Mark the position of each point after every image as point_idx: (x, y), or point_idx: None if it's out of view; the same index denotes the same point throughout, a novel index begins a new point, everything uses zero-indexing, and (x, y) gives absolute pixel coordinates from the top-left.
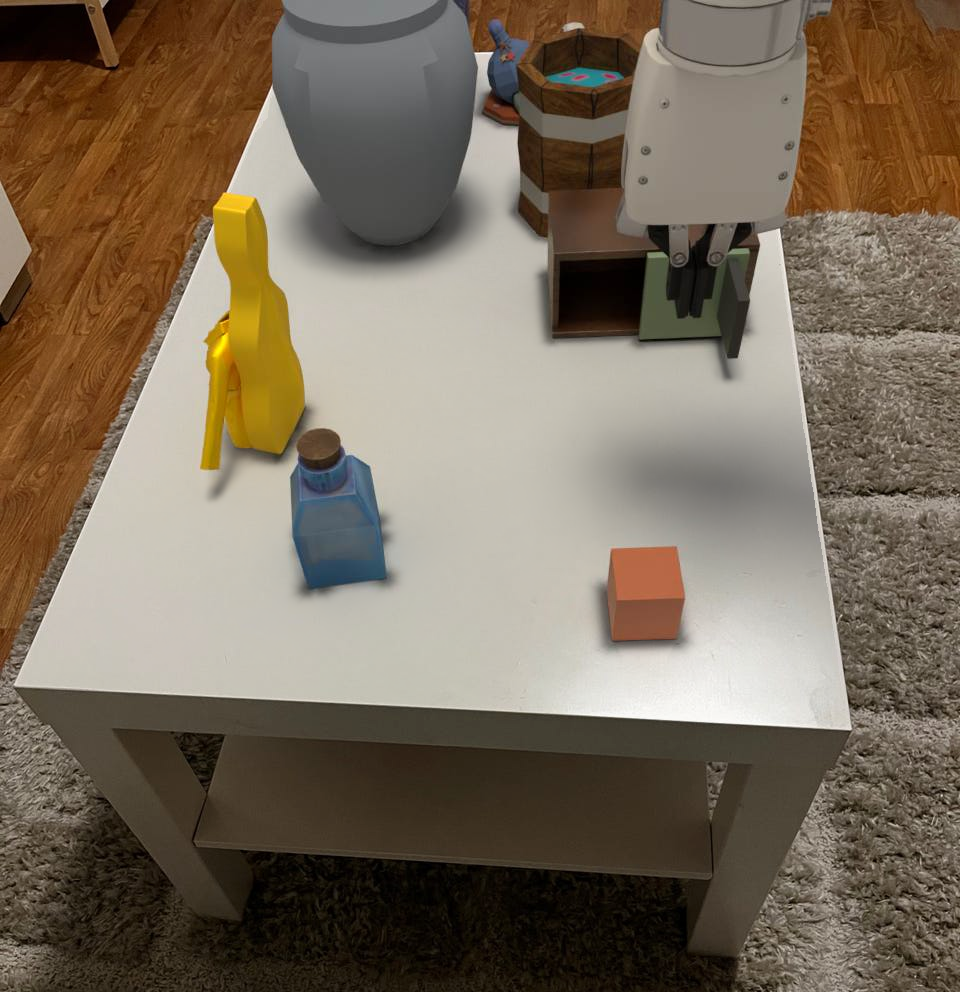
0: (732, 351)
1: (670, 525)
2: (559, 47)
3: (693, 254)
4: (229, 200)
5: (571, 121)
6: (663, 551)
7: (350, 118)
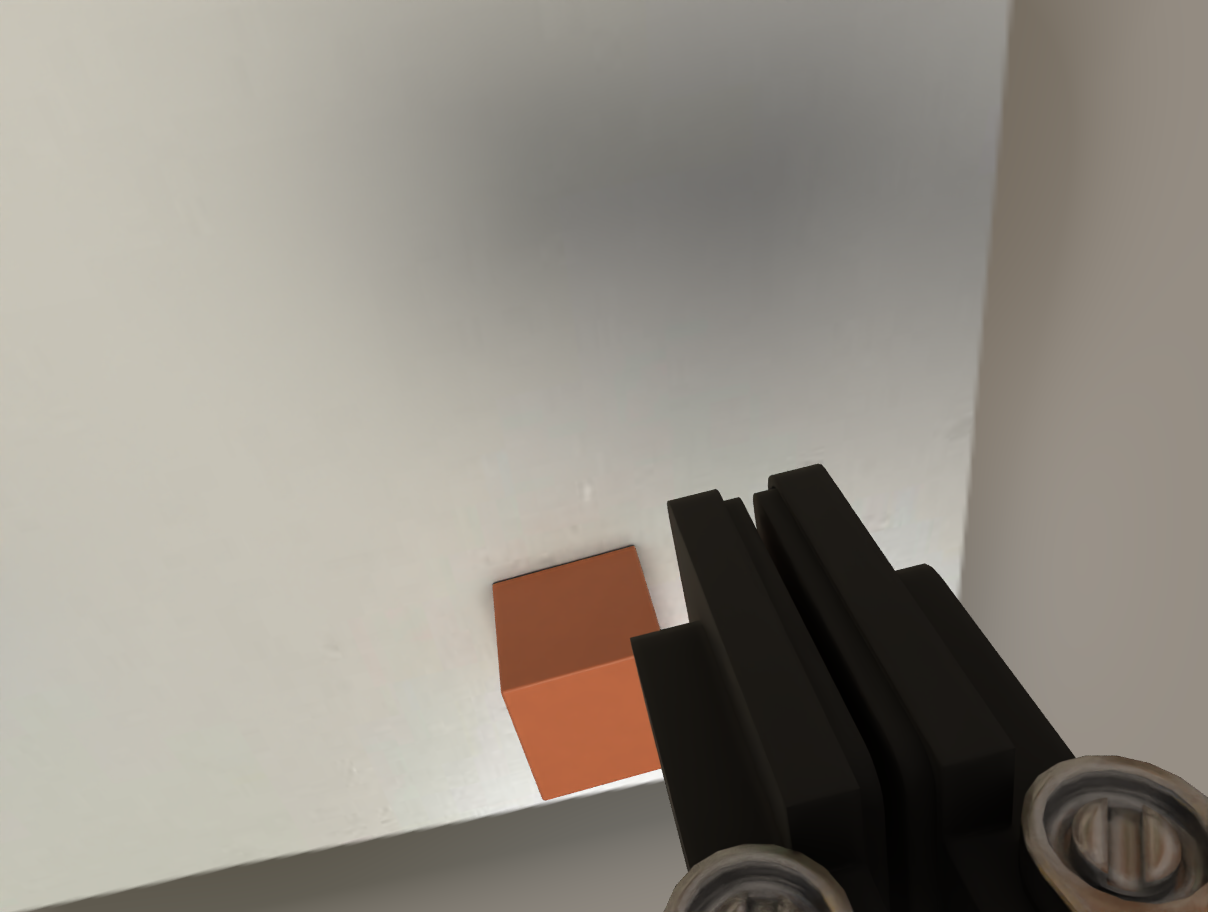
0: None
1: (619, 362)
2: None
3: (890, 809)
4: None
5: None
6: (633, 669)
7: None
